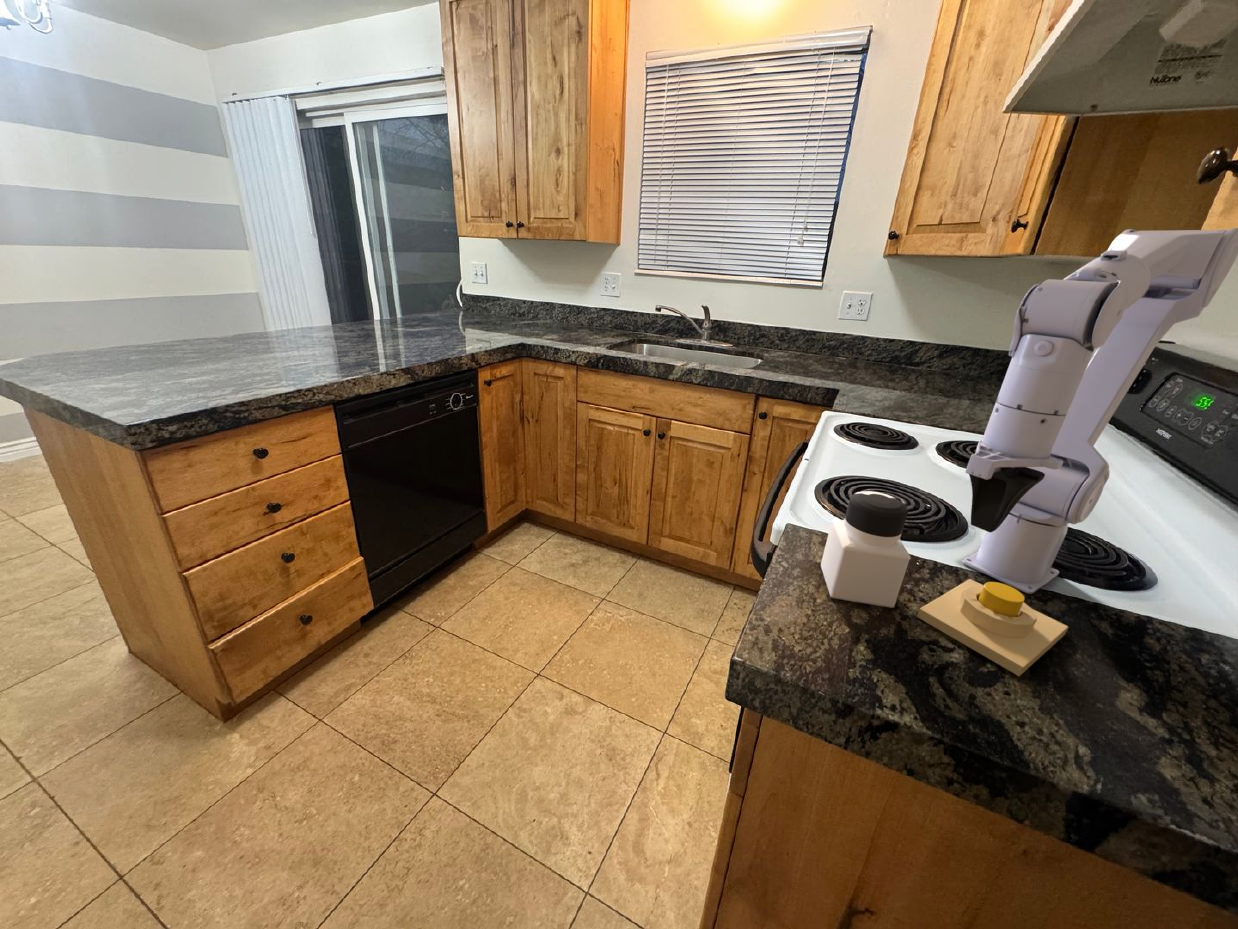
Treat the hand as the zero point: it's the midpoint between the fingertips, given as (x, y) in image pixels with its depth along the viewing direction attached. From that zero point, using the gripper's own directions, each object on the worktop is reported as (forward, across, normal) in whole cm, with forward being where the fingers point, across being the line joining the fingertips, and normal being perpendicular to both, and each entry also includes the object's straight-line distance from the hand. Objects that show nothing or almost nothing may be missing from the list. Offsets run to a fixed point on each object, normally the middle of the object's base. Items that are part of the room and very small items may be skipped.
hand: (983, 527), depth 55 cm
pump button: (+8, 0, -4) cm, 9 cm away
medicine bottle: (+11, -7, +8) cm, 15 cm away
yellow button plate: (+10, 0, -4) cm, 11 cm away
